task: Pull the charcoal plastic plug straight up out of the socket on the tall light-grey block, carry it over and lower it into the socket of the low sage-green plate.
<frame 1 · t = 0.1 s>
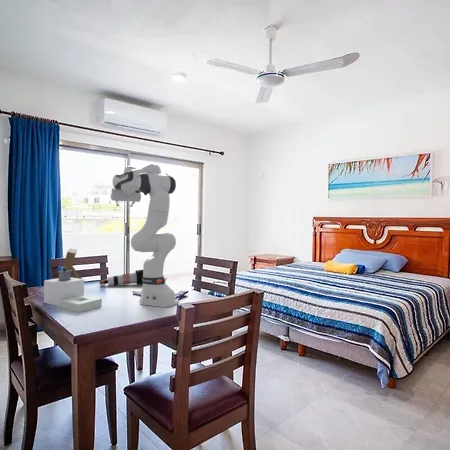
hand: (124, 206, 236), 54 cm above the table, tool tilted 30°, fingers open, 8 cm apart
grey banded tapered cylinder: (126, 285, 232), on the table
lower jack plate: (81, 307, 175), on the table
plug: (64, 285, 184), point 9 cm above the table, touching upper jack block
photo frame: (71, 289, 216), on the table
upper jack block: (64, 301, 184), on the table
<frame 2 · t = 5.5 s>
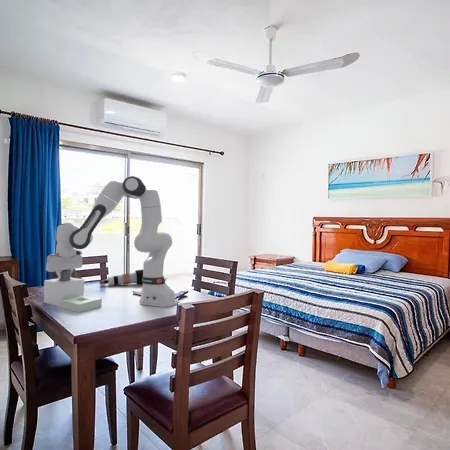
hand: (64, 277, 184), 13 cm above the table, tool pointing down, fingers closed on plug, 4 cm apart
plug: (64, 285, 184), point 9 cm above the table, touching gripper, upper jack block
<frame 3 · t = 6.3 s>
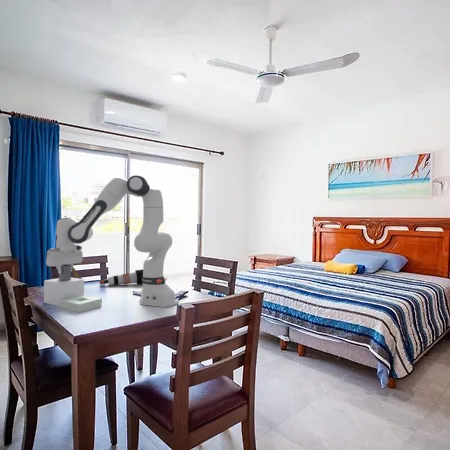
hand: (64, 272, 184), 16 cm above the table, tool pointing down, fingers closed on plug, 4 cm apart
plug: (64, 280, 184), point 12 cm above the table, touching gripper
everything else where it was.
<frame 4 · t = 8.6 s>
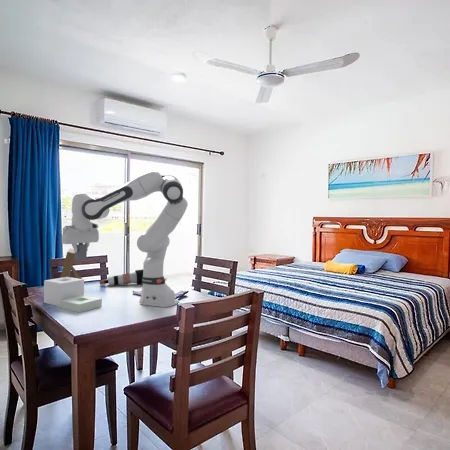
hand: (80, 251, 175), 29 cm above the table, tool pointing down, fingers closed on plug, 4 cm apart
plug: (80, 259, 176), point 24 cm above the table, touching gripper
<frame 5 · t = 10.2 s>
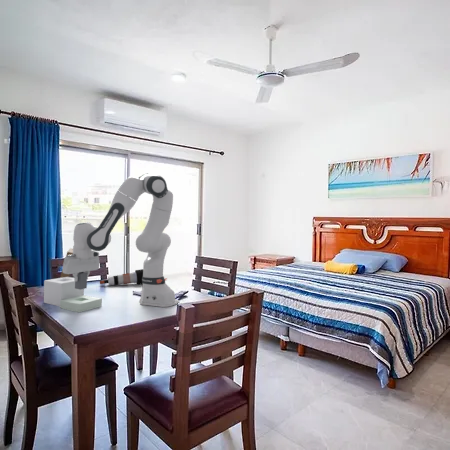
hand: (81, 280, 174), 14 cm above the table, tool pointing down, fingers closed on plug, 4 cm apart
plug: (80, 288, 175), point 10 cm above the table, touching gripper
when the fingers open (6 cm above the table, at t = 12.0 s): plug drops 1 cm, resting on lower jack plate.
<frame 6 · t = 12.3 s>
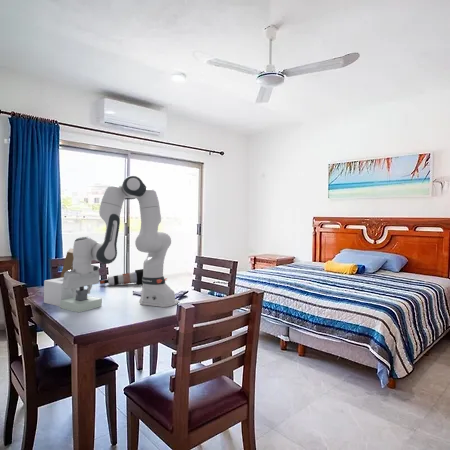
hand: (81, 295, 175), 6 cm above the table, tool pointing down, fingers open, 6 cm apart
plug: (81, 305, 175), point 1 cm above the table, touching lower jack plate
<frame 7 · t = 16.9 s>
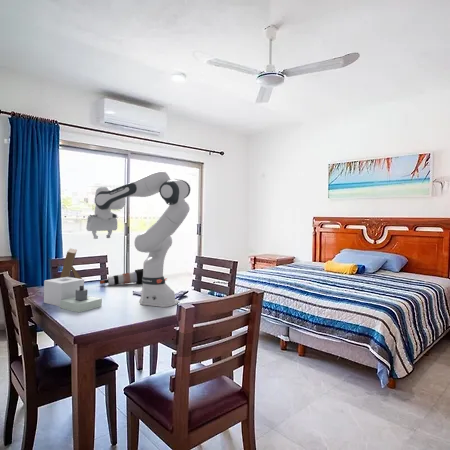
hand: (102, 238, 198), 34 cm above the table, tool pointing down, fingers open, 8 cm apart
at the end: plug 0.1 cm off-centre on the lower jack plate, point 1.0 cm above the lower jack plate's base; plug tilted 0°; the gripper is holding nothing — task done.
